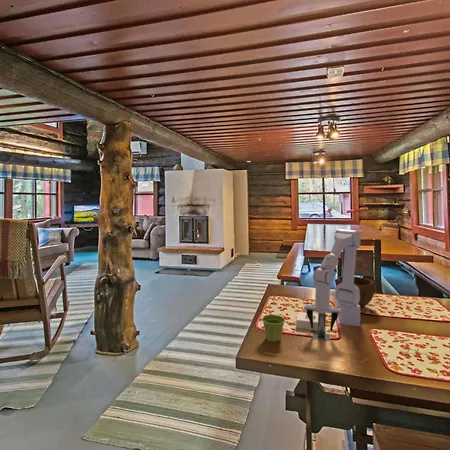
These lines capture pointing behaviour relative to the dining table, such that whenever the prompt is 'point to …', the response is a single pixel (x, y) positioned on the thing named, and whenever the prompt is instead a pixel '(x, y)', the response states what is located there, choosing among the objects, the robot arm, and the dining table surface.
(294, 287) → the dining table surface
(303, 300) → the dining table surface
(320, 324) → the steel pin
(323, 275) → the robot arm
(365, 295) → the bowl
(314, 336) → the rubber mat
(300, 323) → the block
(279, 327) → the plant pot
